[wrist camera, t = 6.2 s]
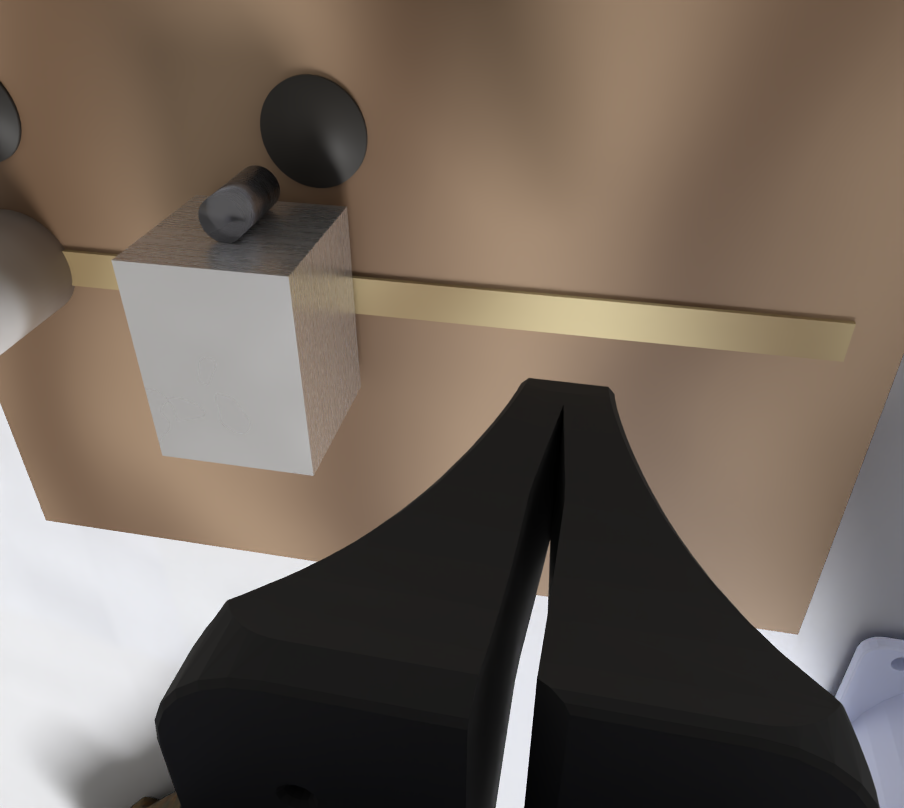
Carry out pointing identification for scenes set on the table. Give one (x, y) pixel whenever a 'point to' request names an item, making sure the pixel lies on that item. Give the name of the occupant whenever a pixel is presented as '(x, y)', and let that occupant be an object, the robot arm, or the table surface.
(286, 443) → the white rectangular block
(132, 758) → the table surface
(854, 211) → the wooden board
